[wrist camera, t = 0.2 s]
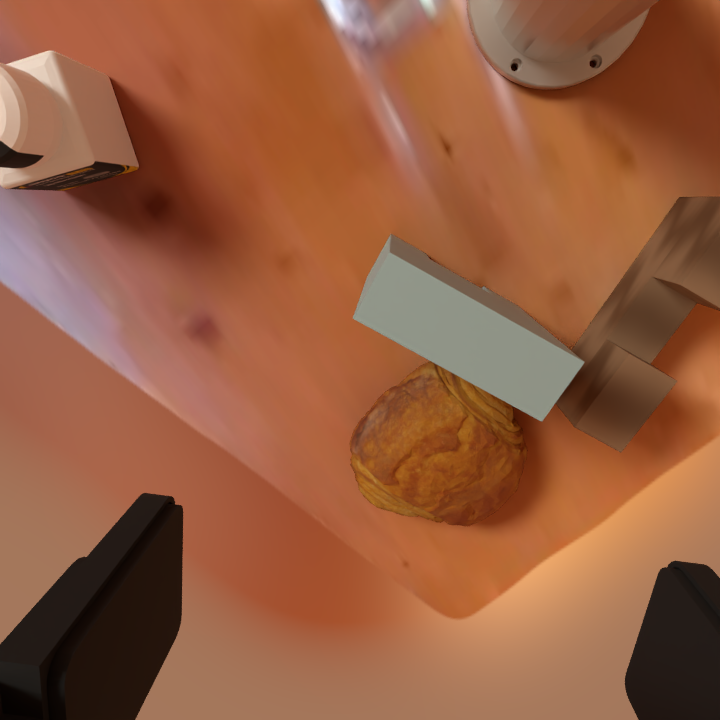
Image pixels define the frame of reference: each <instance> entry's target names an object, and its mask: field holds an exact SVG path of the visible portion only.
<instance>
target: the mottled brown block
mask: <svg viewBox="0 0 720 720" xmlns="http://www.w3.org/2000/svg"><path fill="white" fill-rule="evenodd" d="M697 303H698V304H701V305H704V306H707V307H710V308H713V309H716V310H719V311H720V197H679V199H678V200H677V201H676V203H675V204H674V206H673V207H672V208H671V210H670V211H669V213H668V214H667V216H666V217H665V218H664V220H663V221H662V223H661V224H660V225H659V227H658V228H657V230H656V231H655V233H654V234H653V235H652V237H651V238H650V240H649V241H648V243H647V244H646V245H645V247H644V248H643V250H642V251H641V252H640V254H639V255H638V257H637V258H636V260H635V261H634V262H633V264H632V265H631V267H630V268H629V269H628V271H627V272H626V274H625V275H624V277H623V278H622V279H621V281H620V282H619V284H618V285H617V286H616V288H615V289H614V291H613V292H612V294H611V295H610V296H609V298H608V299H607V301H606V302H605V303H604V305H603V306H602V308H601V309H600V311H599V312H598V313H597V315H596V316H595V318H594V319H593V320H592V322H591V323H590V325H589V326H588V328H587V329H586V330H585V332H584V333H583V335H582V336H581V337H580V339H579V340H578V342H577V343H576V345H575V346H574V347H573V349H572V350H571V351H572V352H573V353H574V354H576V355H577V356H578V357H579V358H580V359H582V360H583V361H584V362H585V363H584V364H583V365H582V367H581V368H580V370H579V371H578V372H577V374H576V375H575V376H574V378H573V379H572V381H571V382H570V383H569V385H568V386H567V388H566V389H565V390H564V392H563V393H562V395H561V396H560V397H559V399H558V400H557V401H556V404H557V406H558V407H559V408H560V409H561V411H562V412H563V413H564V414H565V416H566V417H567V418H568V419H569V421H570V422H571V423H572V424H573V426H574V427H575V428H577V429H579V430H581V431H583V432H585V433H586V434H588V435H590V436H592V437H594V438H595V439H597V440H599V441H601V442H603V443H605V444H606V445H608V446H610V447H612V448H614V449H615V450H617V451H619V452H622V451H623V450H624V448H625V447H626V446H627V444H628V443H629V442H630V441H631V439H632V438H633V437H634V436H635V434H636V433H637V432H638V431H639V429H640V428H641V427H642V425H643V424H644V423H645V422H646V420H647V419H648V418H649V417H650V415H651V414H652V413H653V412H654V410H655V409H656V408H657V406H658V405H659V404H660V403H661V401H662V400H663V399H664V398H665V396H666V395H667V394H668V392H669V391H670V390H671V389H672V387H673V386H674V385H675V384H676V382H677V381H676V380H675V379H673V378H672V377H670V376H668V375H667V374H665V373H664V372H662V371H661V370H659V369H657V368H656V367H654V366H653V365H651V363H652V361H653V360H654V359H655V357H656V356H657V355H658V353H659V352H660V351H661V349H662V348H663V347H664V346H665V344H666V343H667V342H668V340H669V339H670V338H671V336H672V335H673V334H674V332H675V331H676V330H677V328H678V327H679V326H680V325H681V323H682V322H683V321H684V319H685V318H686V317H687V315H688V314H689V313H690V311H691V310H692V309H693V308H694V306H695V305H696V304H697Z"/></svg>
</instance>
